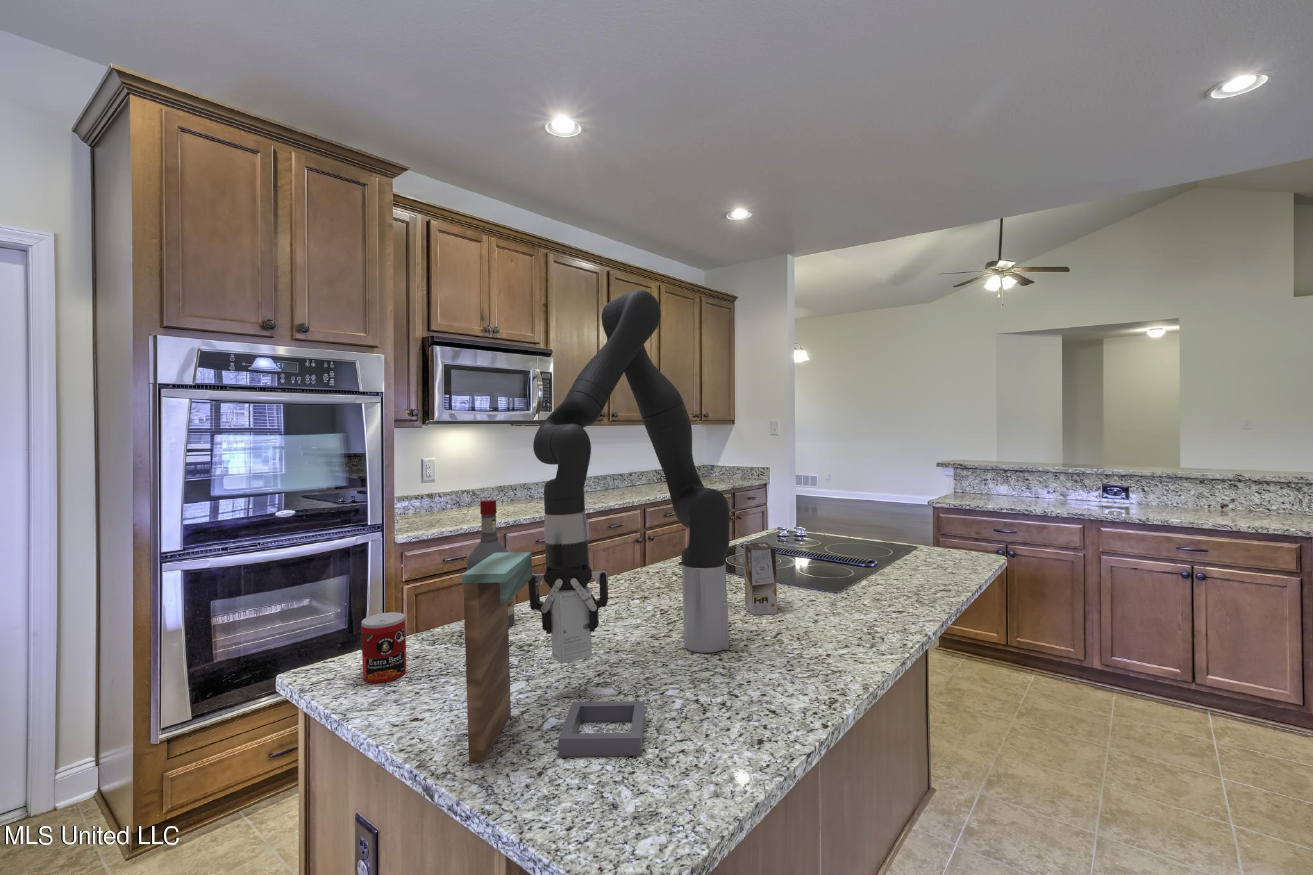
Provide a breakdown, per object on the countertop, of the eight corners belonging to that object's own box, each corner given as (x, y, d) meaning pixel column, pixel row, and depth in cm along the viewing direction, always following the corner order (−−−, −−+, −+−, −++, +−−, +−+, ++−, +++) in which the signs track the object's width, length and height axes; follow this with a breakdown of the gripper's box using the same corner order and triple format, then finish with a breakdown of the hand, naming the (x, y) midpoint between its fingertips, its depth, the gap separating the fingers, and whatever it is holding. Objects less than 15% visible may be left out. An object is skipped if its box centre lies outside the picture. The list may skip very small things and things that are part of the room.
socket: (645, 716, 95) (644, 700, 95) (640, 755, 83) (640, 737, 83) (572, 717, 95) (572, 701, 95) (558, 756, 84) (558, 738, 84)
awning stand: (536, 713, 97) (531, 551, 97) (510, 764, 82) (505, 573, 82) (499, 713, 97) (494, 552, 97) (467, 764, 82) (461, 574, 82)
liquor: (463, 631, 140) (459, 502, 139) (487, 619, 148) (484, 498, 148) (496, 634, 136) (492, 503, 136) (519, 622, 145) (515, 498, 145)
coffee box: (778, 614, 146) (776, 548, 146) (752, 615, 145) (750, 549, 145) (768, 603, 155) (766, 541, 155) (744, 604, 155) (742, 542, 154)
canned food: (363, 687, 109) (361, 627, 109) (362, 672, 116) (360, 616, 116) (408, 678, 113) (406, 620, 113) (404, 664, 120) (403, 609, 120)
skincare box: (561, 665, 102) (558, 594, 102) (551, 657, 106) (547, 589, 105) (594, 656, 105) (590, 587, 105) (582, 649, 109) (579, 582, 109)
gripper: (609, 532, 109) (613, 623, 109) (530, 536, 109) (535, 626, 109) (604, 540, 101) (609, 637, 101) (520, 544, 102) (525, 640, 102)
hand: (571, 631), depth 105 cm, fingers closed on skincare box, 7 cm apart
